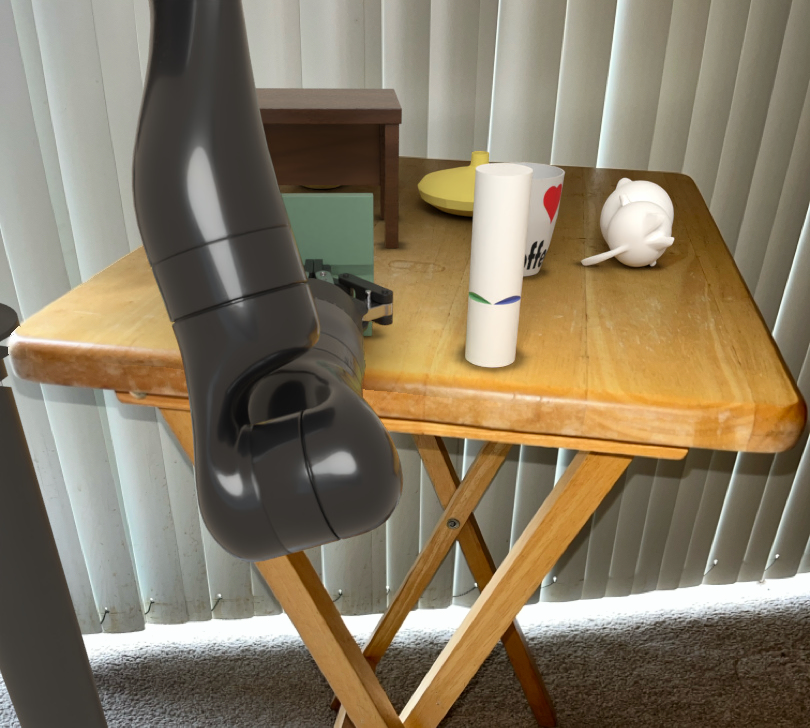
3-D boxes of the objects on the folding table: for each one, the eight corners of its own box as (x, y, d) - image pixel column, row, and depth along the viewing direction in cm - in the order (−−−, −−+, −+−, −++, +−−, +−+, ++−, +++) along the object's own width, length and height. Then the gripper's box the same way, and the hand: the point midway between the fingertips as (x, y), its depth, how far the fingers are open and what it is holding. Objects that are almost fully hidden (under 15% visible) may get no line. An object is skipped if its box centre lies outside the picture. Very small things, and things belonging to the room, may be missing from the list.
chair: (374, 336, 75) (373, 195, 68) (261, 338, 74) (248, 196, 67) (370, 297, 83) (369, 168, 76) (268, 299, 83) (258, 168, 76)
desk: (400, 248, 96) (401, 108, 88) (242, 250, 95) (228, 107, 87) (393, 215, 108) (394, 88, 99) (252, 216, 107) (240, 88, 98)
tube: (467, 345, 74) (478, 161, 65) (516, 349, 73) (534, 164, 64) (462, 365, 70) (472, 174, 62) (513, 369, 70) (531, 177, 61)
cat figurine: (662, 183, 83) (652, 154, 93) (563, 237, 88) (564, 203, 97) (694, 260, 87) (682, 225, 97) (599, 307, 92) (596, 269, 101)
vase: (561, 219, 107) (568, 160, 103) (452, 233, 102) (455, 171, 97) (498, 191, 119) (502, 137, 115) (397, 202, 113) (397, 145, 109)
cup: (496, 284, 87) (503, 181, 81) (467, 260, 93) (472, 164, 87) (566, 277, 89) (579, 176, 83) (533, 254, 95) (543, 159, 89)
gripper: (407, 298, 55) (392, 224, 69) (203, 300, 54) (230, 225, 68) (405, 401, 60) (392, 312, 74) (217, 405, 59) (240, 314, 73)
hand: (314, 270), depth 71 cm, fingers closed
